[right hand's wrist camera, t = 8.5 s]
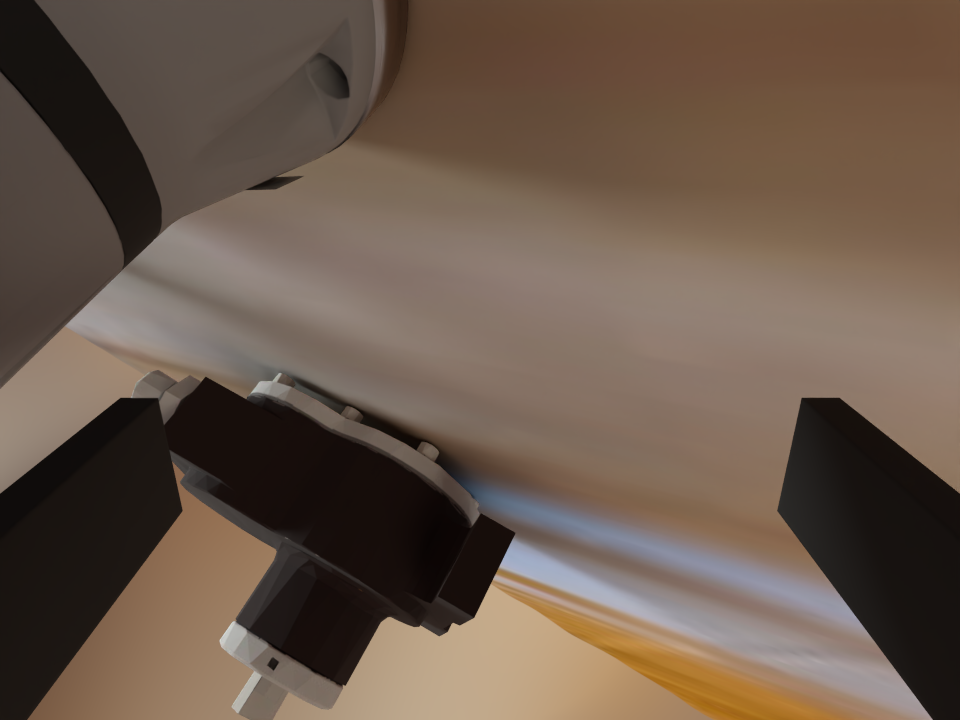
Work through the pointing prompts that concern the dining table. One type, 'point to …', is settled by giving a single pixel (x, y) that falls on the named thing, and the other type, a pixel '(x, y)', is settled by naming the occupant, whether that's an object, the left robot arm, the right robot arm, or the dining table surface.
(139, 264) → the dining table surface
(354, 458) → the mechanical component
